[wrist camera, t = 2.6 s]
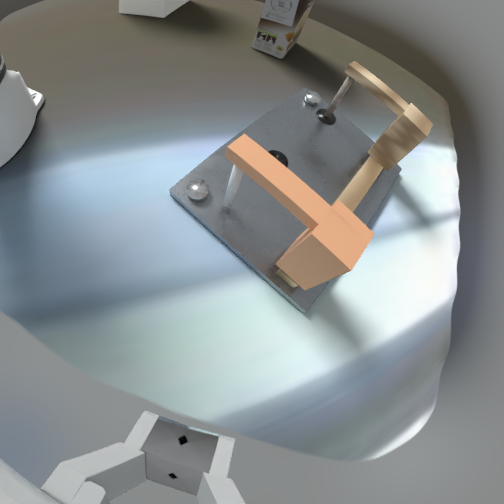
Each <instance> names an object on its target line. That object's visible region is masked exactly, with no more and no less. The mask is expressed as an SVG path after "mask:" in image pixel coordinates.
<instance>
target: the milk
mask: <svg viewBox="0 0 504 504" xmlns="http://www.w3.org/2000/svg"><path fill="white" fill-rule="evenodd" d="M188 1H189V0H119V13H123V14H135V15H145V16H153V17H161V18H164V17H166V16H167V15H169V14H170V13H171V12H173V11H174V10H176V9H177V8H179V7H180V6H182V5H183V4H185V3H186V2H188Z"/></svg>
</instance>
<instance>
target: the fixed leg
mask: <svg viewBox="0 0 504 504" xmlns="http://www.w3.org/2000/svg"><path fill="white" fill-rule="evenodd" d="M345 73H347V74H348V77H347V78H346V80H345V82H344V83H343V85H342V86H341V88H340V89H339V91H338V93H337V94H336V96H335V97H334V99H333V101H332V102H331V104H330V105H329V107H328V109H327V110H326V112H325V113H324V115H325V116H326V117H328V118H329V117H330V116H331V115H332V113H333V112H334V110H335V109H336V107H337V106H338V104H339V103H340V101H341V100H342V98H343V97H344V95H345V94H346V92H347V91H348V89H349V88H350V86H351V85H352V83H353V82H354V80H356V81H357V82H358V83H360V84H361V85H362V86H364V87H365V88H366V89H367V90H369V91H370V92H371V93H372V94H374V95H375V96H376V97H377V98H378V99H380V100H381V101H382V102H383V103H384V104H385V105H387V106H388V107H389V108H390V109H391V110H392V111H393V112H394V113H396V114H397V115H398V116H399V117H398V118H397V119H396V120H395V121H394V122H393V123H392V124H391V125H390V126H389V127H388V128H387V130H386V131H385V132H384V133H383V134H382V135H381V136H380V137H379V138H378V139H377V140H376V142H375V143H374V144H373V145H372V147H371V148H370V149H369V151H368V153H369V154H370V155H371V156H370V157H369V158H368V160H367V161H366V162H365V163H364V165H363V166H362V167H361V169H360V170H359V171H358V172H357V174H356V175H355V176H354V178H353V179H352V180H351V181H350V183H349V184H348V185H347V187H346V188H345V189H344V190H343V192H342V193H341V194H340V195H339V197H338V198H337V199H336V200H335V202H336V201H338V200H340V201H341V202H342V203H343V204H344V205H345V206H346V207H347V208H348V209H349V210H350V211H351V212H352V213H353V211H354V210H355V209H356V207H357V206H358V204H359V203H360V201H361V200H362V199H363V197H364V196H365V194H366V193H367V191H368V190H369V189H370V187H371V186H372V184H373V183H374V181H375V180H376V178H377V177H378V175H379V174H380V172H381V171H382V169H383V168H385V169H386V170H387V171H389V170H390V169H391V168H392V167H393V166H395V165H396V164H397V163H398V162H399V161H400V160H401V159H403V158H404V157H405V156H406V155H407V154H408V153H409V152H410V151H412V150H413V149H414V148H415V147H416V146H417V145H418V144H419V143H421V142H422V141H423V140H424V139H425V138H426V137H427V136H428V134H429V132H430V130H431V127H432V125H433V124H432V123H431V122H430V121H429V120H428V119H427V118H426V117H425V116H424V115H423V114H422V113H421V112H420V111H419V110H418V109H417V108H416V107H415V106H414V105H413V104H412V103H410V105H408V104H407V103H406V102H405V101H404V100H403V99H402V98H401V97H399V96H398V95H397V94H396V93H395V92H394V91H393V90H391V89H390V88H389V87H388V86H387V85H385V84H384V83H383V82H382V81H380V80H379V79H378V78H377V77H375V76H374V75H373V74H372V73H370V72H369V71H368V70H366V69H365V68H364V67H362V66H361V65H360V64H358V63H357V62H356V61H354V62H352V63H351V64H349V65H348V67H347V68H346V70H345ZM335 202H334V203H335ZM334 203H333V204H334ZM333 204H332V205H333ZM332 205H331V206H332ZM276 274H277V275H278V276H280V277H281V278H282V279H283V280H284V281H285V282H286V283H287V284H289V285H290V286H291V287H292V288H294V287H296V286H298V284H297V283H296V282H295V281H294V280H293V279H292V278H290V277H289V276H288V275H287V274H286V273H285V272H284V271H283V270H281V269H279V270H278V271H277V273H276Z"/></svg>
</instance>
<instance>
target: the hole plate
mask: <svg viewBox="0 0 504 504" xmlns="http://www.w3.org/2000/svg"><path fill="white" fill-rule="evenodd" d="M328 107H329V104H328V103H326V102H325V101H324V100H322V99H321V97H320V95H319V94H317V93H316V92H313V91H310V90H309V89H307V88H306V87H305V88H303V89H302V90H300V91H299V92H297V93H296V94H294V95H293V96H291V97H290V98H288V99H287V100H285V101H284V102H282V103H281V104H279V105H278V106H276V107H275V108H273V109H272V110H271V111H269V112H268V113H266V114H265V115H263V116H262V117H261V118H259V119H258V120H256V121H255V122H254V123H252V124H251V125H250V126H248V127H247V128H245V129H244V130H243V131H241V132H240V133H239V134H237V135H236V136H235V137H233V138H232V139H231V140H230V141H228V142H227V143H226V144H224V145H223V146H222V147H220V148H219V149H218V150H217V151H215V152H214V153H213V154H212V155H210V156H209V157H208V158H207V159H205V160H204V161H203V162H202V163H201V164H199V165H198V166H197V167H196V168H194V169H193V170H192V171H191V172H190V173H188V174H187V175H186V176H185V177H184V178H183V179H181V180H180V181H179V182H178V183H177V184H176V185H174V186H173V187H172V188H171V189H170V190H169V191H170V195H171V196H172V197H173V198H174V199H175V200H176V201H177V202H178V203H180V204H181V205H182V206H183V207H184V208H185V209H186V210H187V211H188V212H189V213H191V214H192V215H193V216H194V217H195V218H196V219H197V220H198V221H199V222H200V223H202V224H203V225H204V226H205V227H206V228H207V229H208V230H209V231H210V232H212V233H213V234H214V235H215V236H216V237H217V238H218V239H219V240H220V241H222V242H223V243H224V244H225V245H226V246H227V247H228V248H229V249H231V250H232V251H233V252H234V253H235V254H236V255H237V256H238V257H239V258H241V259H242V260H243V261H244V262H245V263H246V264H247V265H248V266H250V267H251V268H252V269H253V270H254V271H255V272H256V273H257V274H259V275H260V276H261V277H262V278H263V279H264V280H265V281H266V282H268V283H269V284H270V285H271V286H272V287H273V288H274V289H275V290H277V291H278V292H279V293H280V294H281V295H282V296H283V297H285V298H286V299H287V300H288V301H289V302H290V303H291V304H293V305H294V306H295V307H296V308H297V309H298V310H299V311H300V312H302V313H304V312H307V310H308V309H309V308H310V306H311V305H312V304H313V302H314V301H315V300H316V298H317V297H318V296H319V294H320V293H321V291H322V290H323V289H324V287H325V286H326V285H327V283H328V282H329V280H328V281H326V282H324V283H321V284H319V285H316V286H314V287H312V288H309V289H307V290H304V289H303V288H302V287H300V286H299V285H298V286H296V287H294V288H292V287H291V286H290V285H289V284H287V283H286V282H285V281H284V280H283V279H282V278H281V277H280V276H278V275H277V274H276V273H277V271H278V270H279V269H280V268H279V267H278V266H277V265H276V263H277V262H278V260H279V259H280V258H281V257H282V256H283V254H284V253H285V252H286V251H287V250H288V249H289V247H290V246H291V245H292V244H293V243H294V241H295V240H296V239H297V238H298V237H299V236H300V235H301V234H302V233H303V232H304V231H305V230H306V229H307V228H308V227H307V226H305V225H304V224H303V223H302V222H301V221H300V220H299V219H298V218H296V217H295V216H294V215H293V214H292V213H291V212H290V211H289V210H287V209H286V208H285V207H284V206H283V205H282V204H281V203H279V202H278V201H277V200H276V199H275V198H274V197H272V196H271V195H270V194H269V193H268V192H267V191H265V190H264V189H263V188H262V187H261V186H260V185H258V184H257V183H256V182H255V181H254V180H253V179H251V178H250V177H249V176H248V175H247V174H245V173H244V172H243V175H242V178H241V181H240V184H239V186H238V189H237V192H236V195H235V198H234V201H233V204H232V206H231V207H225V206H224V204H223V201H224V198H225V194H226V190H227V187H228V183H229V180H230V176H231V173H232V169H233V166H234V164H233V163H232V162H231V161H230V160H228V159H227V158H226V157H225V154H226V150H227V146H229V145H230V144H231V143H233V142H234V141H235V140H236V139H238V138H239V137H240V136H242V135H243V134H246V135H247V136H248V137H249V138H251V139H252V140H253V141H255V142H256V143H257V144H258V145H260V146H261V147H262V148H263V149H265V150H266V151H267V152H268V153H270V154H271V155H272V156H273V157H275V158H276V159H277V160H278V161H279V162H281V163H282V164H283V165H284V166H286V167H287V168H288V169H289V170H290V171H291V172H293V173H294V174H295V175H296V176H297V177H299V178H300V179H301V180H302V181H303V182H304V183H306V184H307V185H308V186H309V187H310V188H311V189H312V190H314V191H315V192H316V193H317V194H318V195H319V196H320V197H321V198H323V199H324V200H325V201H326V202H327V203H328V204H329V205H330V206H331V205H332V204H333V203H334V202H335V200H336V199H337V198H338V197H339V195H340V194H341V193H342V192H343V190H344V189H345V188H346V187H347V185H348V184H349V183H350V181H351V180H352V179H353V178H354V176H355V175H356V174H357V172H358V171H359V170H360V169H361V167H362V166H363V165H364V163H365V162H366V161H367V160H368V158H369V157H370V156H371V155H370V154H369V153H368V151H369V149H370V148H371V147H372V145H373V144H374V142H373V141H372V140H371V139H370V138H369V137H368V136H367V135H365V134H364V133H363V132H362V131H361V130H360V129H358V128H357V127H356V126H355V125H354V124H353V123H351V122H350V121H349V120H348V119H347V118H345V117H344V116H343V115H342V114H340V113H339V112H338V111H337V110H334V112H333V113H332V115H331V116H330V117H329V118H328V117H326V116H325V115H324V113H325V112H326V110H327V109H328ZM401 169H402V168H401V167H400V166H399V165H398V164H396V165H395V166H393V167H392V168H391V169H390V170H389V171H387V170H386V169H385V168H383V169H382V171H381V172H380V174H379V175H378V177H377V178H376V180H375V181H374V183H373V184H372V186H371V187H370V189H369V190H368V191H367V193H366V194H365V196H364V197H363V199H362V200H361V201H360V203H359V204H358V206H357V207H356V209H355V210H354V211H353V213H354V214H355V215H356V216H357V217H358V218H359V219H360V220H361V221H362V222H363V223H364V224H365V225H366V226H367V225H368V223H369V221H370V220H371V218H372V217H373V215H374V214H375V212H376V210H377V209H378V207H379V206H380V204H381V202H382V201H383V199H384V198H385V196H386V194H387V193H388V191H389V189H390V188H391V186H392V184H393V183H394V181H395V179H396V178H397V176H398V174H399V172H400V171H401Z"/></svg>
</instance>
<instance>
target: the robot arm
mask: <svg viewBox="0 0 504 504" xmlns="http://www.w3.org/2000/svg"><path fill="white" fill-rule="evenodd" d="M43 102H44V97H43V95H42V94H40V93H38V92H36V91H34V90H32V89H30V88H28V87H27V86H26V84H25V82H24V80H23V78H22V76H21V75H20V73H19V72H15V71H12V70H6V65H5V63H4V59H3V57H2V56H1V54H0V167H1V166H3V165H4V164H5V163H6V162H7V161H9V160H10V159H11V158H12V157H13V156H14V155H15V154H16V153H17V151H18V150H19V149H20V148H21V147H22V145H23V144H24V142H25V141H26V139H27V138H28V136H29V134H30V133H31V130H32V128H33V126H34V123H35V119H36V114H37V112H38V110H39V109H40V107H41V105H42V104H43ZM218 437H219V438H218ZM234 445H235V438H231V437H227V436H223V435H219V434H216V433H213V432H209V431H205V430H201V429H198V428H194V427H191V426H186V425H183V424H180V423H178V422H175V421H172V420H169V419H167V418H164V417H161V416H159V415H156V414H154V413H151V412H149V411H144V412H143V413H142V414H141V416H140V418H139V419H138V421H137V423H136V424H135V426H134V428H133V429H132V431H131V432H130V434H129V436H128V437H127V439H126V441H125V442H124V443H122V442H118V443H115V444H113V445H110V446H107V447H105V448H102V449H99V450H96V451H94V452H91V453H88V454H85V455H82V456H79V457H76V458H73V459H70V460H67V461H63V462H61V463H60V464H59V465H58V467H57V468H56V469H55V470H54V472H53V473H52V474H51V476H50V477H49V478H48V480H47V481H46V483H45V484H44V485H43V486H42V488H41V489H38V488H37V487H35V486H34V485H33V484H31V483H30V482H29V481H27V480H26V479H25V478H23V477H22V476H21V475H20V474H18V473H17V472H16V471H14V470H13V469H12V468H11V467H10V466H9V465H7V464H6V463H5V462H4V461H3V460H2V459H1V458H0V504H110V502H109V501H110V500H112V499H113V498H115V497H117V496H119V495H121V494H123V493H125V492H127V491H128V490H130V489H132V488H134V487H136V486H137V485H139V484H141V483H143V482H144V481H146V479H148V480H151V481H153V482H156V483H159V484H162V485H165V486H169V487H172V488H174V489H177V490H180V491H183V492H186V493H190V494H193V495H196V496H197V499H198V502H199V504H246V503H245V502H244V500H243V498H242V496H241V494H240V493H239V491H238V489H237V487H236V485H235V483H234V482H233V480H232V479H230V478H228V473H229V468H230V464H231V459H232V454H233V450H234Z"/></svg>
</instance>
